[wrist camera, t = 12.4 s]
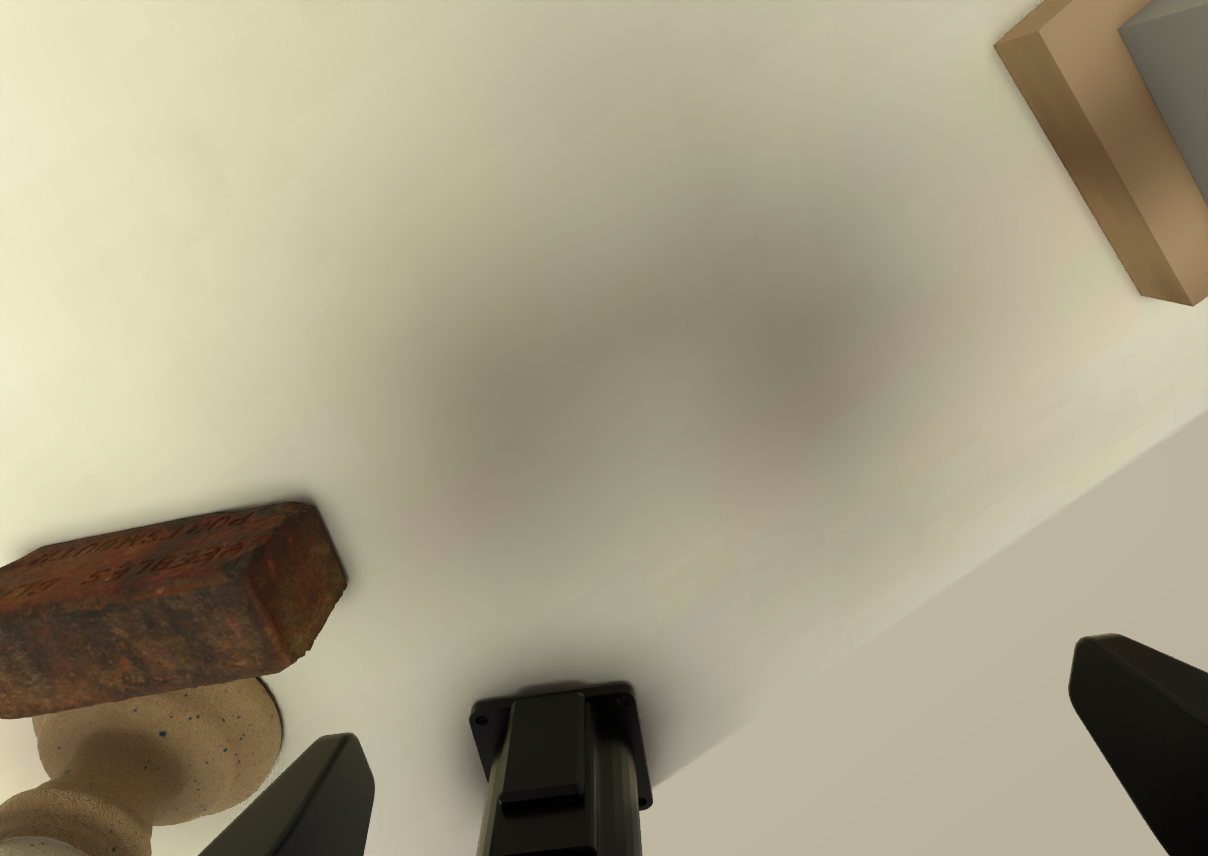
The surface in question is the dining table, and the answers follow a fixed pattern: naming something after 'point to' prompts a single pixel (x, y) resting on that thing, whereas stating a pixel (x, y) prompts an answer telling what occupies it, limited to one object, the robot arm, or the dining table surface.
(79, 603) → the brick
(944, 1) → the dining table surface
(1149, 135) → the tower base block
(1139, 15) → the tower middle block
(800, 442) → the dining table surface
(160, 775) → the candle holder
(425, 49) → the dining table surface
